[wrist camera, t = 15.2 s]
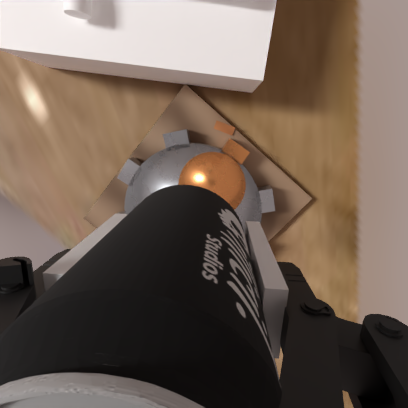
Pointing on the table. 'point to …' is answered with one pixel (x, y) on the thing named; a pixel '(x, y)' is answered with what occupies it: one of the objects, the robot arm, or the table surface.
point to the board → (216, 136)
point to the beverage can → (149, 318)
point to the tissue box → (145, 38)
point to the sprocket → (198, 175)
